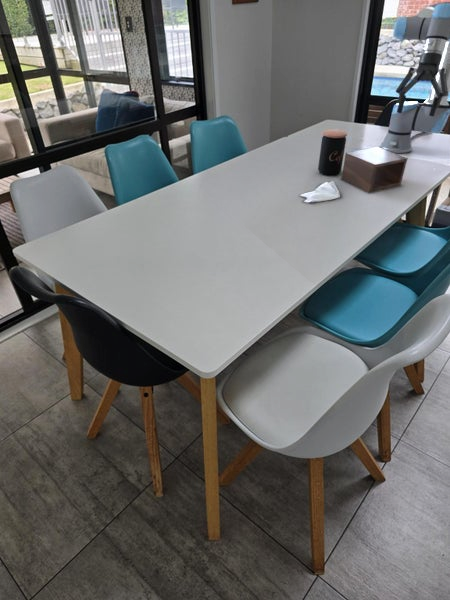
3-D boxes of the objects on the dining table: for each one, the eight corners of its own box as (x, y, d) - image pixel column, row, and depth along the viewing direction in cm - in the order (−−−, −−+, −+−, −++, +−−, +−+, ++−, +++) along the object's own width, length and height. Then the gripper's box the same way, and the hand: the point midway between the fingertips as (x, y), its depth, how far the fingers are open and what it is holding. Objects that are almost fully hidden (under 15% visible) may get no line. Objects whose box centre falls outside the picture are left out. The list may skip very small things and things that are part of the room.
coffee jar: (327, 177, 188) (333, 137, 178) (313, 170, 196) (317, 131, 185) (345, 173, 192) (352, 133, 181) (330, 167, 200) (336, 128, 189)
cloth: (321, 207, 162) (321, 202, 161) (292, 198, 170) (293, 193, 168) (355, 189, 177) (356, 184, 175) (327, 181, 185) (328, 176, 183)
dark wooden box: (371, 172, 193) (377, 146, 186) (400, 185, 180) (407, 158, 173) (341, 179, 186) (345, 152, 179) (368, 193, 174) (374, 164, 166)
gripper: (397, 51, 162) (382, 110, 170) (462, 51, 145) (441, 116, 154) (405, 55, 166) (390, 112, 175) (470, 55, 150) (449, 118, 159)
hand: (414, 114), depth 165 cm, fingers open, 13 cm apart
